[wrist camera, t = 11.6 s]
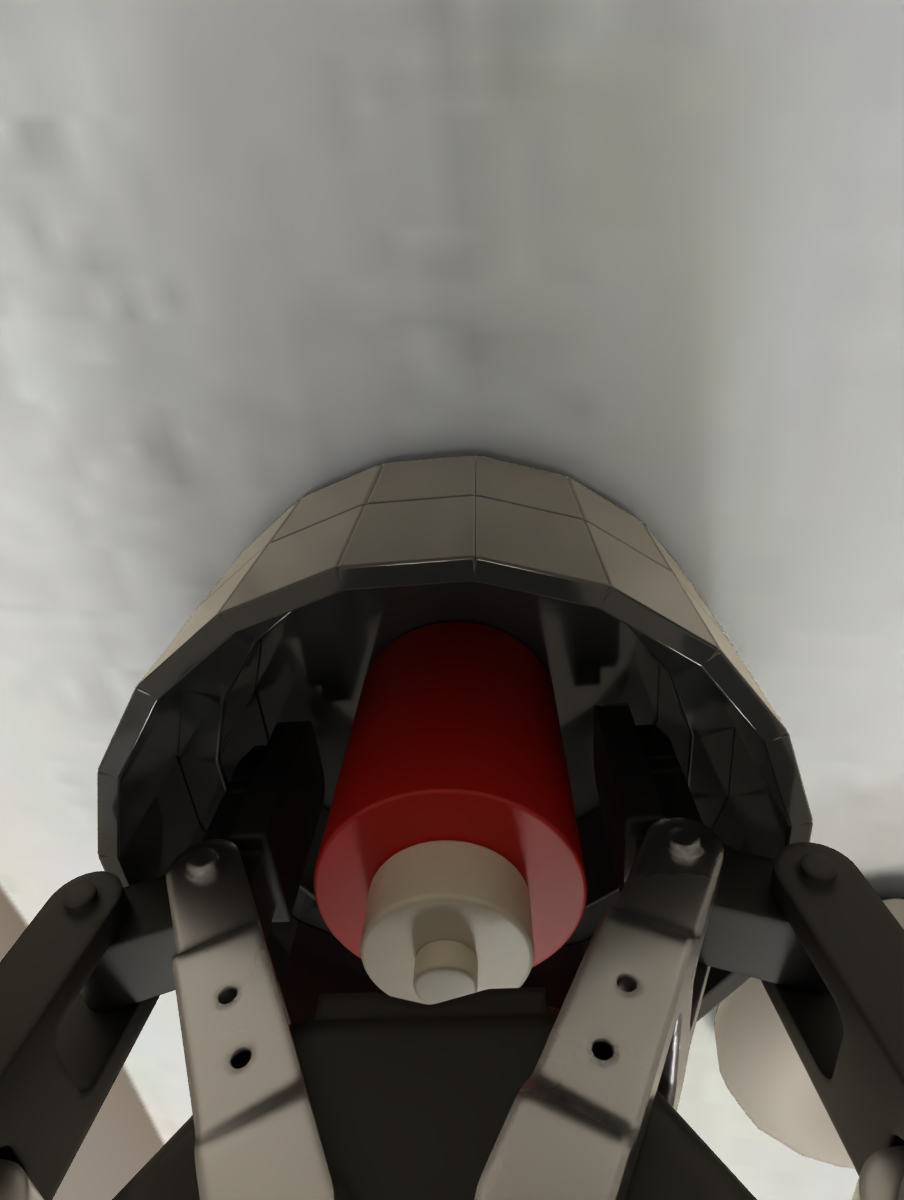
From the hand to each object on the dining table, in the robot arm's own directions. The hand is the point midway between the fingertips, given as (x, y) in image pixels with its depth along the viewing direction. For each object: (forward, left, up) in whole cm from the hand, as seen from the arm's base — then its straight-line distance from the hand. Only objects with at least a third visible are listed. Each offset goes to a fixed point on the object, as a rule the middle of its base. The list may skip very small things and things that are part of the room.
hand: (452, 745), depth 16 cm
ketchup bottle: (0, 0, -2) cm, 2 cm away
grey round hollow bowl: (0, 0, -2) cm, 2 cm away
